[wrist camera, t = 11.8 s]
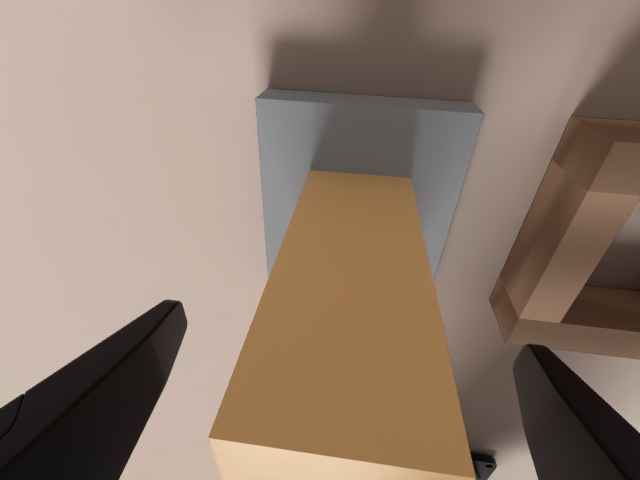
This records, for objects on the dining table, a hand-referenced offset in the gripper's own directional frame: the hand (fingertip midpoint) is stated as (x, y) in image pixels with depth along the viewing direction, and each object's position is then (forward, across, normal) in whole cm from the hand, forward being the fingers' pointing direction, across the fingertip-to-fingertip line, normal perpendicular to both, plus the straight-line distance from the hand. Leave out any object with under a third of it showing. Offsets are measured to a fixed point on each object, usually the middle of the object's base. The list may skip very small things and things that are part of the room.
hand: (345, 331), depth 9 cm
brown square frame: (+6, -10, 0) cm, 12 cm away
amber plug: (+5, 0, 0) cm, 5 cm away
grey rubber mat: (+6, 0, 0) cm, 6 cm away
